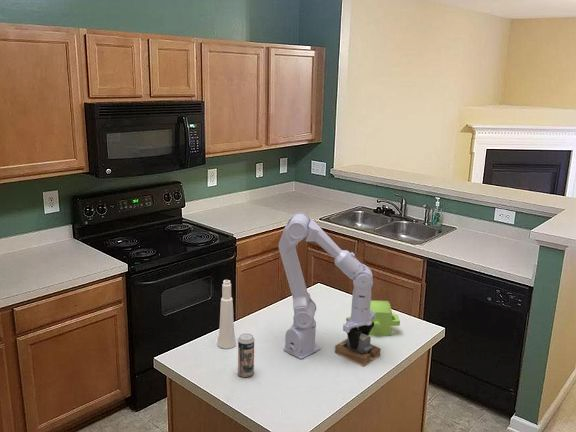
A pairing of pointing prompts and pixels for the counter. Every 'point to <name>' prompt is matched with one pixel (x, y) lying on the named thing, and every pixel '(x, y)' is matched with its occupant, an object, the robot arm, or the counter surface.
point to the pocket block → (357, 354)
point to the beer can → (246, 355)
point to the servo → (361, 344)
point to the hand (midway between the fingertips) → (358, 345)
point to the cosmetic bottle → (226, 318)
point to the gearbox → (382, 318)
